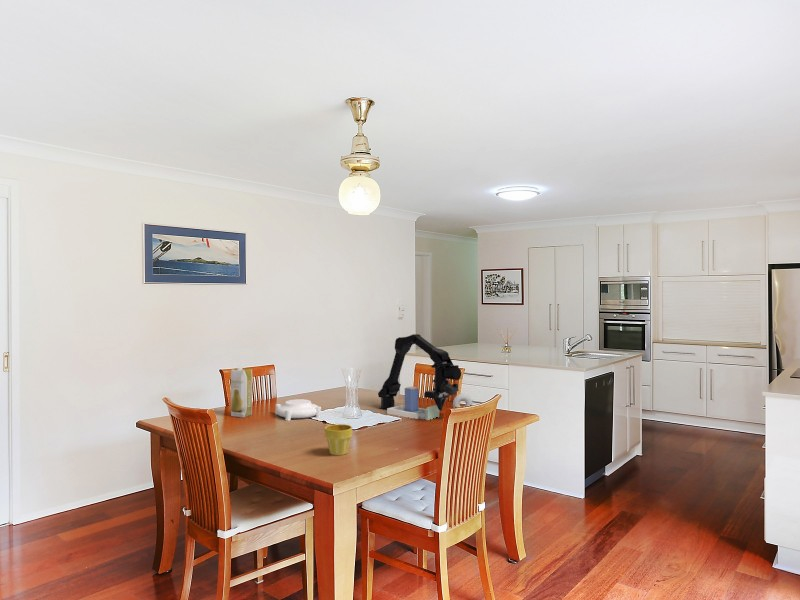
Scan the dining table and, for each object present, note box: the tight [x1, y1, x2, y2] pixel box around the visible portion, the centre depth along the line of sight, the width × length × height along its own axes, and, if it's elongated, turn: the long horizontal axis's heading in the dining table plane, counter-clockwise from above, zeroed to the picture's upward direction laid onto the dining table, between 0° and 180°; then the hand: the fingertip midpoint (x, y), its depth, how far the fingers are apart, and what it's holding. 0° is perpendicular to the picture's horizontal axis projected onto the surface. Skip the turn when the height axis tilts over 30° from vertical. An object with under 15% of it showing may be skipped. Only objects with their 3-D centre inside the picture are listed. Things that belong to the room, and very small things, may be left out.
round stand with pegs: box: [275, 398, 322, 422], centre depth 275 cm, size 24×24×7 cm
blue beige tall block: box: [404, 386, 419, 412], centre depth 278 cm, size 5×5×12 cm
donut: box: [452, 393, 473, 409], centre depth 281 cm, size 10×4×10 cm, turn 94°
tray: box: [401, 404, 440, 421], centre depth 275 cm, size 18×9×6 cm, turn 50°
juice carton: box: [230, 366, 253, 418], centre depth 273 cm, size 9×8×24 cm
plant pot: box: [324, 423, 353, 456], centre depth 211 cm, size 10×10×10 cm
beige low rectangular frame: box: [386, 404, 426, 420], centre depth 279 cm, size 19×12×2 cm, turn 50°
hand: (440, 410), depth 267 cm, fingers closed
